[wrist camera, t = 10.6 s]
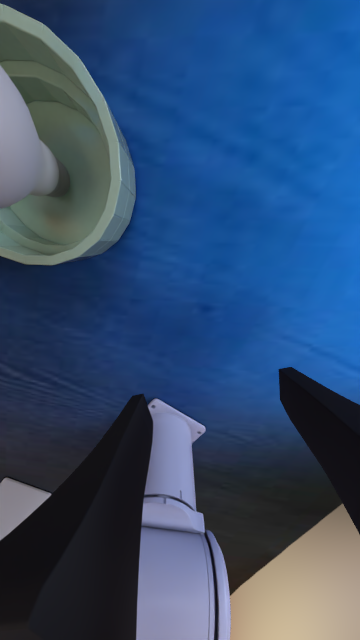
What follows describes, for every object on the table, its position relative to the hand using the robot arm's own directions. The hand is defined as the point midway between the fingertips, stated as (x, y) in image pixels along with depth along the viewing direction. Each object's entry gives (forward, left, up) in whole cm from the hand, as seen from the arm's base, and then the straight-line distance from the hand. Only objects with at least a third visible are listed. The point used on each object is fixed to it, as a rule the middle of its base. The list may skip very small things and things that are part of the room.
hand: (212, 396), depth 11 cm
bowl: (+3, +16, -10) cm, 19 cm away
